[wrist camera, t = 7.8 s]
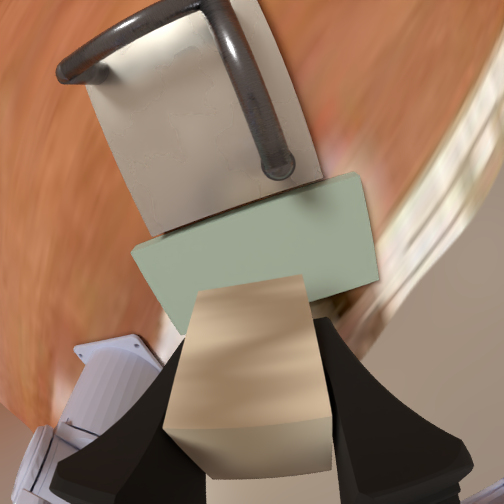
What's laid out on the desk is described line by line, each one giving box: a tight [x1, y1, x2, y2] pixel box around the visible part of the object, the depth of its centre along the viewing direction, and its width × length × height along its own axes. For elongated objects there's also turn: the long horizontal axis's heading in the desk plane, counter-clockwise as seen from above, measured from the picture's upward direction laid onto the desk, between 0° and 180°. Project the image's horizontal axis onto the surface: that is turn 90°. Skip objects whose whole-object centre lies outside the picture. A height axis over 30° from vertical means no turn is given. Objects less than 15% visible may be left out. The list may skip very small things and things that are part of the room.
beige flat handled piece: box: [56, 0, 323, 237], centre depth 12 cm, size 12×10×5 cm
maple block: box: [163, 274, 332, 480], centre depth 9 cm, size 4×4×6 cm
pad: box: [131, 172, 379, 335], centre depth 18 cm, size 7×14×1 cm, turn 110°
